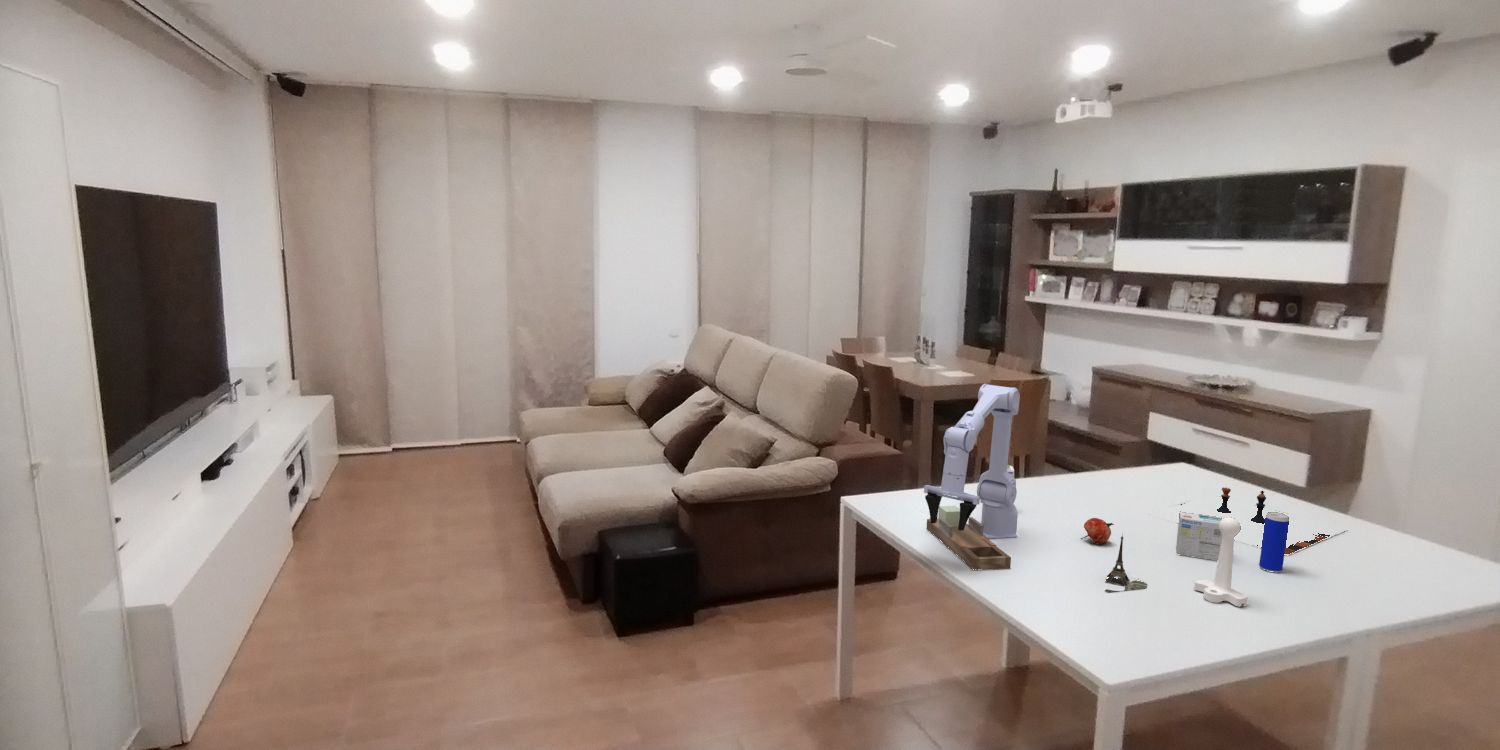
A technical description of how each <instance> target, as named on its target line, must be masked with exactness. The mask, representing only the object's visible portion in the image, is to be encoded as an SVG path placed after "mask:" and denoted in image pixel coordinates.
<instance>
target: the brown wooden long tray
mask: <svg viewBox="0 0 1500 750" xmlns="http://www.w3.org/2000/svg"><path fill="white" fill-rule="evenodd" d="M983 529H984V525H982V524H981V521H980V522H979V521H978V520H977V519H976V518H974V517H973V516H969V518H968V523H966V525H965V528H964V530H962V531H960V530H958V527H953V526H951V525H950V524H949V523H948V522H946V521H945V520H944V519H943V518H939V522H938V518H937V522H936V523H931V521H930V518H927V519H926V530H927V531H928V532H929V531H930V532H931V533H930V532H929V533H930V534H932V535H933V534H934V535H935V536H936V537H937V538H938V539H937V538H936V537H935V536H934V535H933V536H934V537H935V538H936V539H937V540H939V539H940V540H941V541H942V542H943V543H944V544H945V545H946V546H945V545H944V544H943V543H942V542H941V541H940V540H939V541H940V542H941V543H942V544H943V545H944V546H945V547H946V548H948V547H949V548H950V549H951V550H952V551H953V552H954V553H953V552H952V551H951V550H950V549H949V548H948V549H949V550H950V551H951V552H952V553H953V554H955V553H956V554H957V555H958V556H959V557H960V558H961V560H962V559H963V560H964V561H965V562H966V563H967V564H968V565H969V566H968V565H967V564H966V563H965V562H964V561H963V560H962V561H963V562H964V563H965V564H966V565H967V566H968V567H970V568H971V567H972V568H973V569H974V570H973V569H972V568H971V569H972V570H973V571H979V570H978V569H992V570H1005V569H1006V570H1007V569H1011V564H1012V557H1011V556H1010V555H1009V554H1007V552H1004V551H1003V550H1002V549H1001V548H999V547H998V546H997V544H996V543H994V541H992V540H990V538H986V537H985V536H983ZM956 554H955V555H956ZM957 555H956V556H957ZM958 556H957V557H958ZM959 557H958V558H959ZM960 558H959V559H960ZM975 569H977V570H975Z"/></svg>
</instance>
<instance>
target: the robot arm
mask: <svg viewBox="0 0 1500 750" xmlns="http://www.w3.org/2000/svg"><path fill="white" fill-rule="evenodd" d="M977 399H978V401H977V403H976V404H975V406H974V407H973V409H972V410H969V411H966V412H965V413H964V415H962V417H961V418H960V419H959V420H958V421H957V423H956V424H955V425H954V426H951V427H949V428H946V430H945V432H944V436H943V448H944V449H943V454H944V463H943V469H942V479H941V486H934V485H929V484H928V485H927V484H926V485H924V489H923V493H924V494H925V495H924V497H925V500H926V503H927V506H928V510H929V519H930V521H931V523H936V522H937V519H938V513H939V506H941V505H940V504H941V501H942V498H946V499H950V500H951V499H952V500H956V501H960V502H959V509H960V519H959V525H958V530H960V531H962V530H964V528H965V525H966V523H967V522H968V521H969V517H971V514H972V513H973V511H974V510H975V509H976V507H977V505H980V503H981V504H982V507H981V509H982V510H981V521H980V523H981V524H982V525H984V529H983V536H985V537H986V538H988V539H1003V538H1017V537H1018V534H1017V528H1018V527H1017V526H1018V518H1019V517H1018V516H1019V515H1018V510H1017V507H1016V505H1015V504H1014V503H1015V502H1016V499H1017V492H1018V491H1017V480H1016V478H1015V476H1014V477H1013V476H1012V475H1010V474H1009V473H1008V472H1007V465H1009V464H1008V462H1009V452H1010V441H1011V432H1012V424H1013V423H1012V422H1013V421H1012V420H1013V416H1017V415H1019V410H1020V400H1021V395H1020V392H1019V390H1018V388H1017V387H1008V386H1002V385H1001V386H1000V385H995V384H988V383H983V384H982V385H981V386H980V387H979V390H978V394H977ZM990 413H991V414H992V416H993V421H992V422H993V424H992V434H991V445H990V455H989V466H988V470H986V471H984V472H982V473H981V475H980V476H979V480H978V484H977V487H976V495H975V494H971V493H968V492H964V491H965V485H966V479H967V470H968V464H969V455H970V452H971V451H972V450H973V449H974V447H975V443H976V441H977V435H978V434H980V432H981V430H983V428H984V426H985V419H986V418H987V416H989V415H990ZM967 524H968V523H967Z"/></svg>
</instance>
